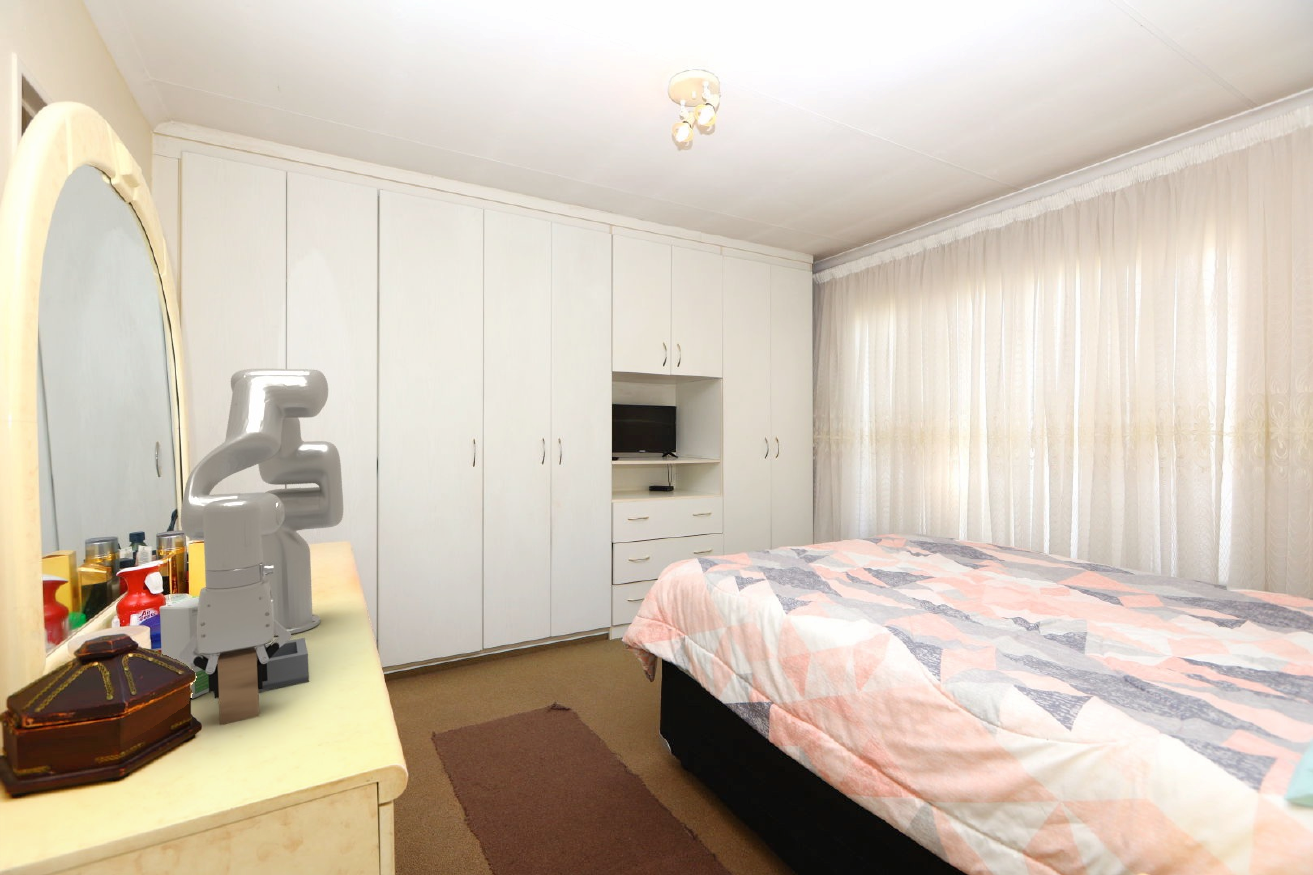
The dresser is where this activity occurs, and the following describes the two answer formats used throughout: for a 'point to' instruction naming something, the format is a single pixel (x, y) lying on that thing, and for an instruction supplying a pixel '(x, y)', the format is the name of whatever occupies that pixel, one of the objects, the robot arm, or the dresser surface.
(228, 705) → the oak block
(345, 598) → the dresser surface
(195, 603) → the skincare box
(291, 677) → the grey well
